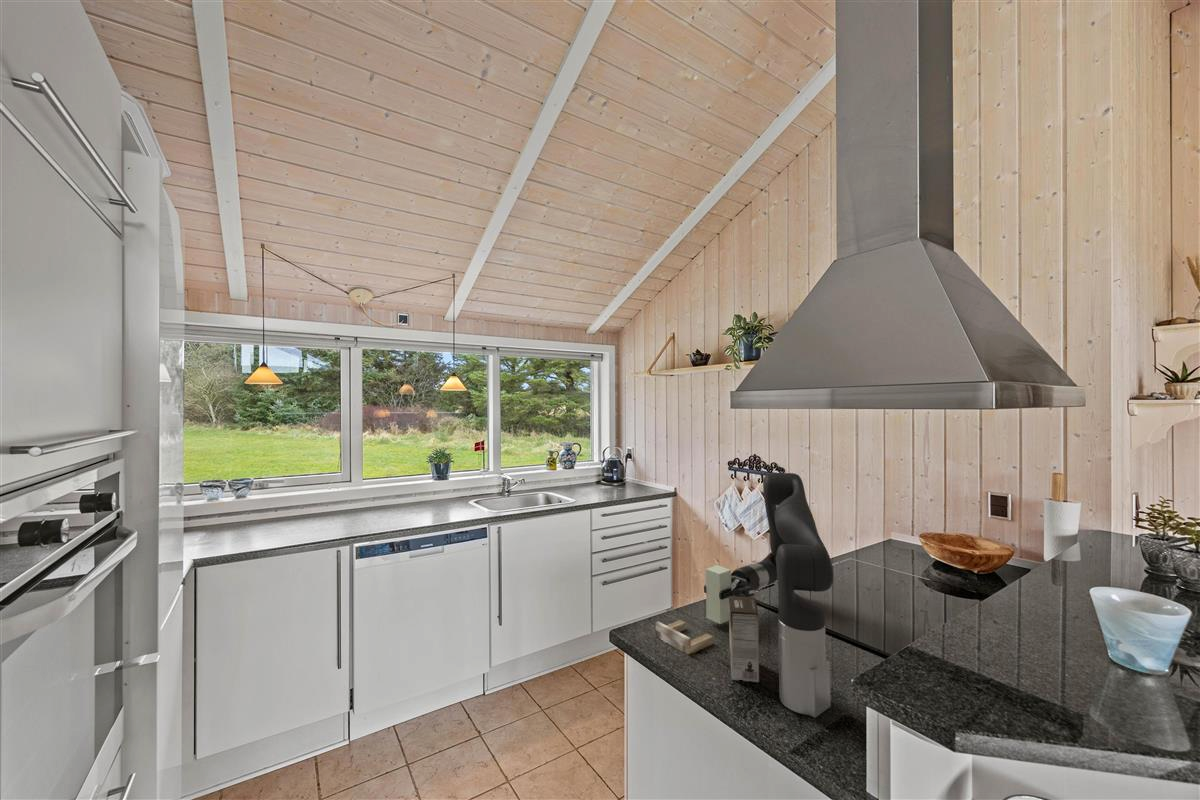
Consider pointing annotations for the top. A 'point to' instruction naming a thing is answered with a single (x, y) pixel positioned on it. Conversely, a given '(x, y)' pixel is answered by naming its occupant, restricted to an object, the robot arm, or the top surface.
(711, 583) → the sage block
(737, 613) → the coffee box
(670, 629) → the wooden lane
